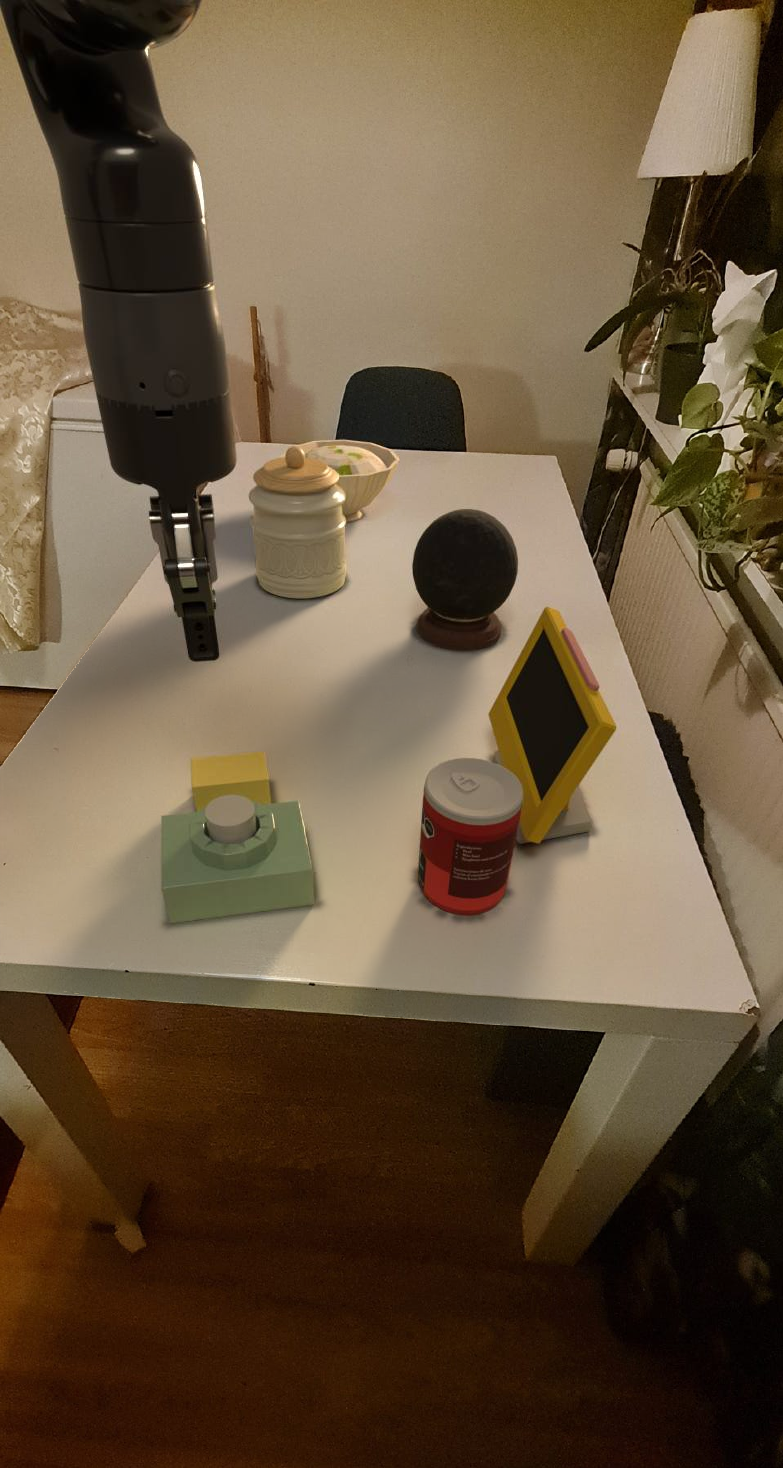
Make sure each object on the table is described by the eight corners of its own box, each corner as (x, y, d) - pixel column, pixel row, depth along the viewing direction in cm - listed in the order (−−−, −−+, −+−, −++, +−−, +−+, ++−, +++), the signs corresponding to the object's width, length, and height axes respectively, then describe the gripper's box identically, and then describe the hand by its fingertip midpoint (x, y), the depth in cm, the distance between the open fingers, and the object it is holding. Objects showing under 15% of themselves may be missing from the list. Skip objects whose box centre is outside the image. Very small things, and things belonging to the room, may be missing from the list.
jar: (237, 582, 110) (222, 447, 98) (298, 555, 118) (291, 426, 106) (305, 609, 105) (298, 470, 93) (364, 578, 112) (365, 446, 100)
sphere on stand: (503, 660, 96) (521, 538, 86) (400, 647, 98) (405, 526, 88) (512, 613, 106) (529, 499, 95) (418, 602, 107) (425, 488, 97)
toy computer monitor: (484, 741, 84) (502, 602, 73) (554, 740, 84) (584, 602, 73) (519, 868, 69) (549, 720, 58) (604, 866, 70) (649, 718, 59)
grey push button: (209, 847, 62) (205, 828, 61) (207, 816, 65) (203, 797, 63) (258, 842, 63) (256, 823, 61) (254, 810, 66) (252, 792, 64)
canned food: (446, 843, 72) (456, 745, 64) (522, 879, 68) (542, 781, 61) (399, 890, 67) (404, 791, 59) (477, 931, 64) (494, 832, 56)
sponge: (198, 820, 73) (191, 787, 70) (196, 791, 76) (190, 758, 73) (272, 812, 74) (268, 779, 71) (267, 783, 77) (264, 751, 74)
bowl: (313, 543, 121) (311, 475, 114) (266, 503, 133) (261, 440, 126) (419, 524, 128) (422, 459, 121) (365, 488, 140) (365, 427, 133)
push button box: (170, 923, 64) (157, 871, 59) (169, 850, 70) (157, 799, 66) (314, 904, 66) (311, 853, 61) (301, 835, 72) (297, 784, 68)
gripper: (101, 356, 48) (153, 618, 60) (84, 414, 39) (149, 710, 51) (223, 355, 49) (250, 612, 61) (235, 411, 40) (263, 700, 52)
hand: (204, 656), depth 56 cm, fingers closed
